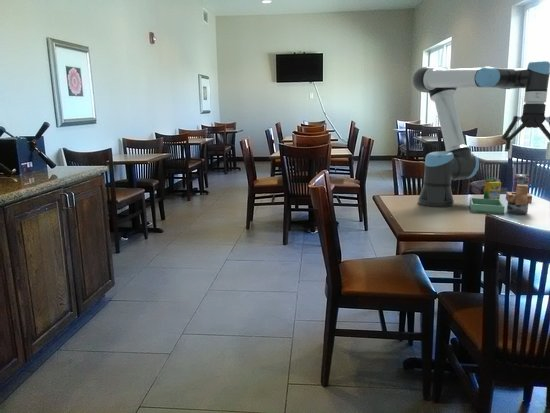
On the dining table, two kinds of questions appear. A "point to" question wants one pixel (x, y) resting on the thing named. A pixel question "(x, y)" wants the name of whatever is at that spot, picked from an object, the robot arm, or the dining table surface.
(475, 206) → the tray
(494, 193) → the crayon box
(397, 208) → the dining table surface
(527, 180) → the beverage can
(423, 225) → the dining table surface
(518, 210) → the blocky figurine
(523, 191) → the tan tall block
